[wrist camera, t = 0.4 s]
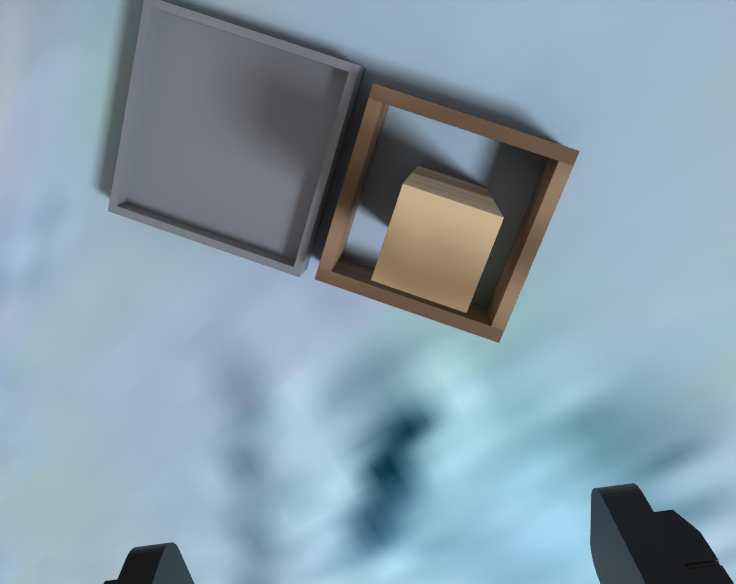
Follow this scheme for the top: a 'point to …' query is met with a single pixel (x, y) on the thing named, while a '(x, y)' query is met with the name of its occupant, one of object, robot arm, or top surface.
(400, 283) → the oak peg
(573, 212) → the top surface
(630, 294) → the top surface
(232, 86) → the tray
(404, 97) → the square wooden frame
